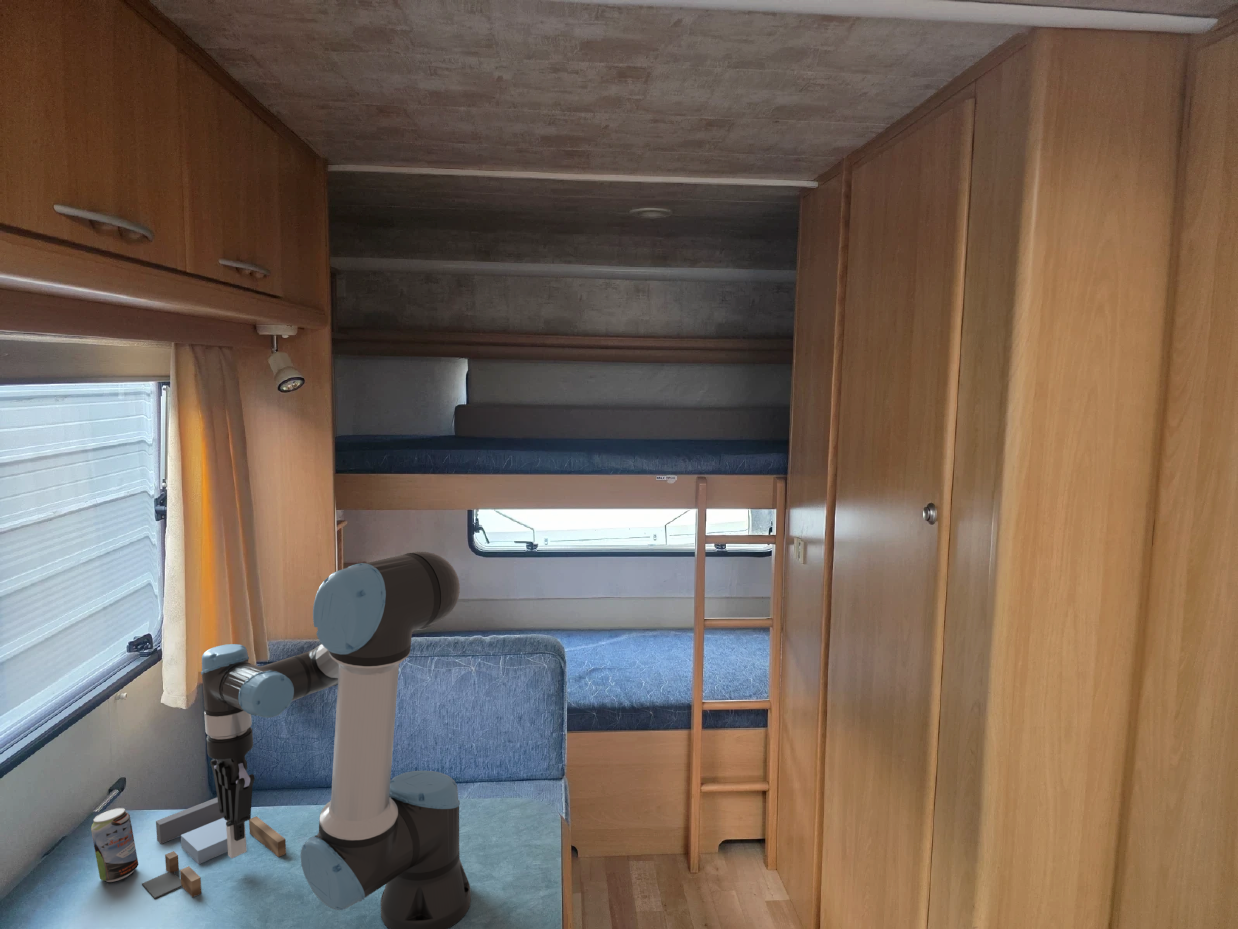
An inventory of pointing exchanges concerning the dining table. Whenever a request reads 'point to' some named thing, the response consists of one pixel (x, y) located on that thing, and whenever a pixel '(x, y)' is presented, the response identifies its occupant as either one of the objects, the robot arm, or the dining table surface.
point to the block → (206, 841)
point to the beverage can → (114, 845)
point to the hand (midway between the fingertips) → (237, 853)
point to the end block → (187, 820)
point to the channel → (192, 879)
